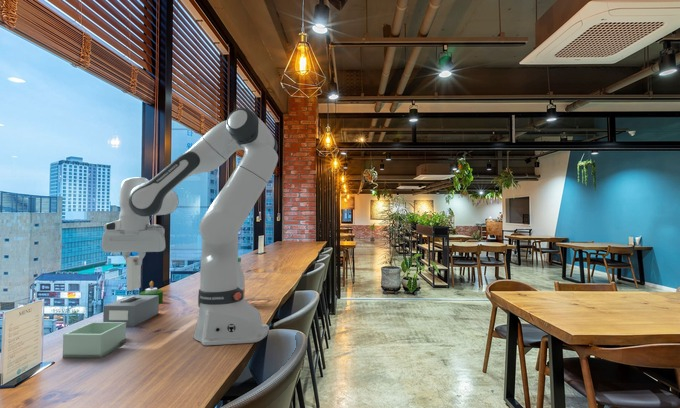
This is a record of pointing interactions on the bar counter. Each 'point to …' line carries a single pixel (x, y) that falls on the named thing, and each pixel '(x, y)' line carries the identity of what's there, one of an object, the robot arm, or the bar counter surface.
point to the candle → (153, 292)
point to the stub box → (94, 340)
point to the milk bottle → (241, 277)
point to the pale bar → (133, 274)
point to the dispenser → (132, 309)
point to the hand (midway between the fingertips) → (134, 265)
